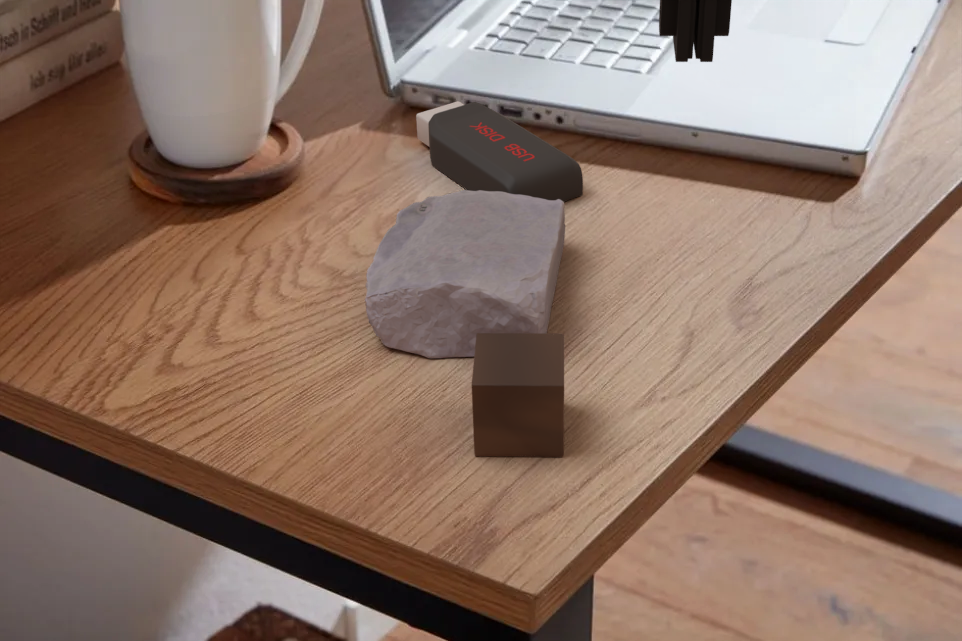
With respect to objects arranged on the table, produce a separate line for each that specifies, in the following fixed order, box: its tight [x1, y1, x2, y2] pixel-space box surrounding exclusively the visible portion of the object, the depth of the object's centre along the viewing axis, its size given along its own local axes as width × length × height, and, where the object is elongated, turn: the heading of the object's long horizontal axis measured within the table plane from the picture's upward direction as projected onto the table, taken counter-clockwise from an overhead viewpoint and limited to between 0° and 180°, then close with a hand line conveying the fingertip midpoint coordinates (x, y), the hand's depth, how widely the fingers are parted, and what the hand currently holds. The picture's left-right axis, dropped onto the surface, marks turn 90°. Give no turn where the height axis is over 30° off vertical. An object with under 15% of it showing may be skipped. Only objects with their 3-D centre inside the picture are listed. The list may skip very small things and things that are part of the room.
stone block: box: [364, 189, 566, 359], centre depth 70 cm, size 12×5×10 cm
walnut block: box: [471, 332, 565, 458], centre depth 60 cm, size 4×4×4 cm
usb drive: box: [415, 100, 584, 203], centre depth 82 cm, size 5×12×3 cm, turn 34°
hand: (692, 49), depth 59 cm, fingers closed
